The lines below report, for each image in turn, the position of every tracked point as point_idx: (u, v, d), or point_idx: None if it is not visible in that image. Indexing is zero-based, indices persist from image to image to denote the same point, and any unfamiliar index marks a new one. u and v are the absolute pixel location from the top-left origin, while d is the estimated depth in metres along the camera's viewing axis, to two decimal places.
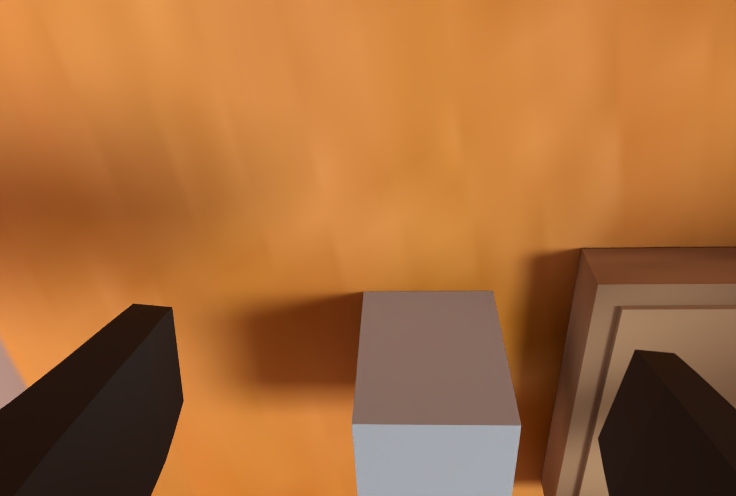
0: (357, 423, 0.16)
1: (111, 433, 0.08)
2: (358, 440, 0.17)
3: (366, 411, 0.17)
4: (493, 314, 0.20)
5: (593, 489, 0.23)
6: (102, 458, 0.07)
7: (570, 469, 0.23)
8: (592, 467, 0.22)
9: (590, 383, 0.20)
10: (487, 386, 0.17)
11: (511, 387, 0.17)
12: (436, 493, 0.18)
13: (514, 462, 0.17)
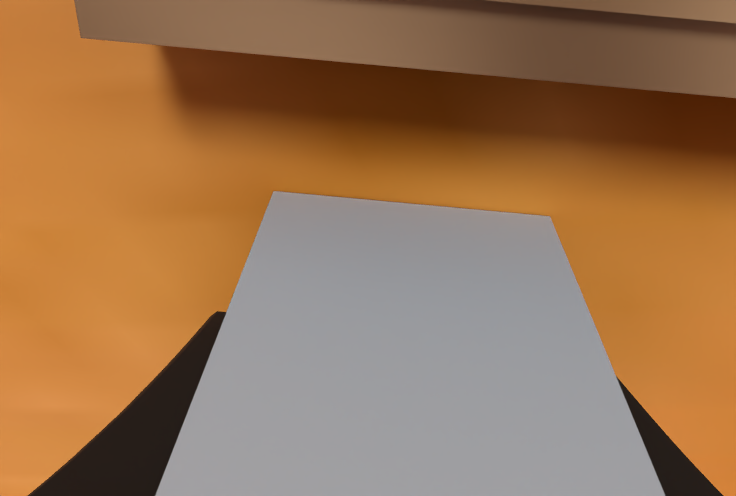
0: None
1: None
2: None
3: None
4: None
5: None
6: None
7: None
8: None
9: (459, 34, 0.06)
10: None
11: (191, 409, 0.06)
12: None
13: None
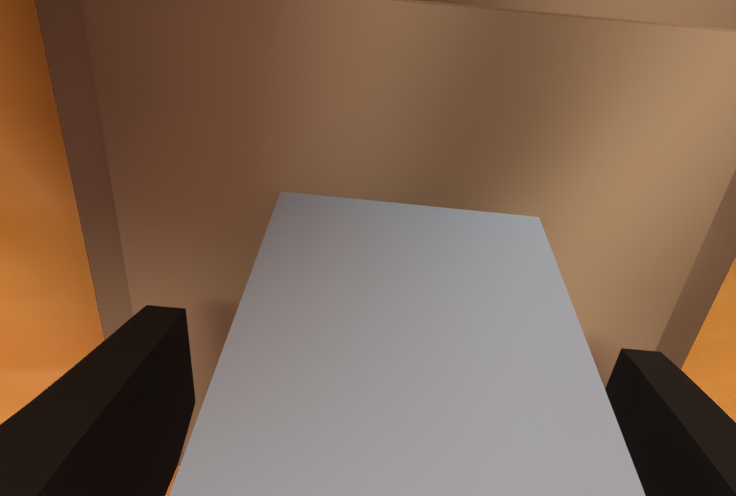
0: None
1: (128, 435, 0.08)
2: None
3: None
4: None
5: None
6: (119, 460, 0.07)
7: None
8: None
9: None
10: None
11: (210, 388, 0.07)
12: None
13: None
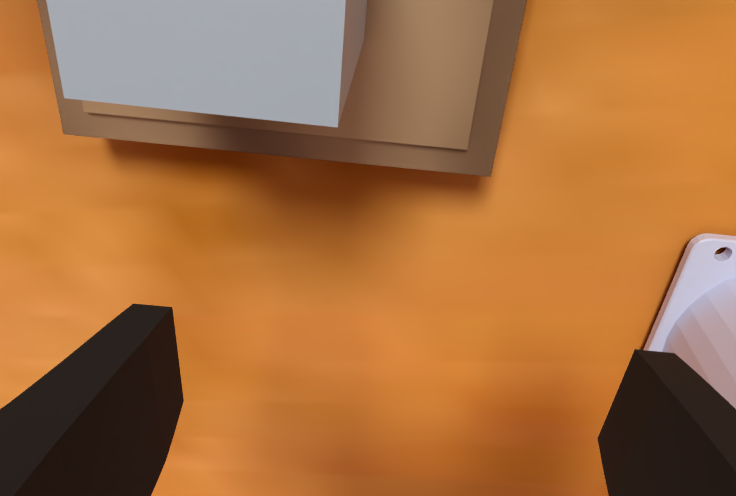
0: (63, 89, 0.10)
1: (111, 433, 0.08)
2: (101, 93, 0.10)
3: None
4: None
5: (405, 126, 0.16)
6: (102, 458, 0.07)
7: (369, 153, 0.17)
8: (356, 130, 0.16)
9: (208, 135, 0.17)
10: None
11: None
12: None
13: None
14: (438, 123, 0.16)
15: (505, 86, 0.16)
